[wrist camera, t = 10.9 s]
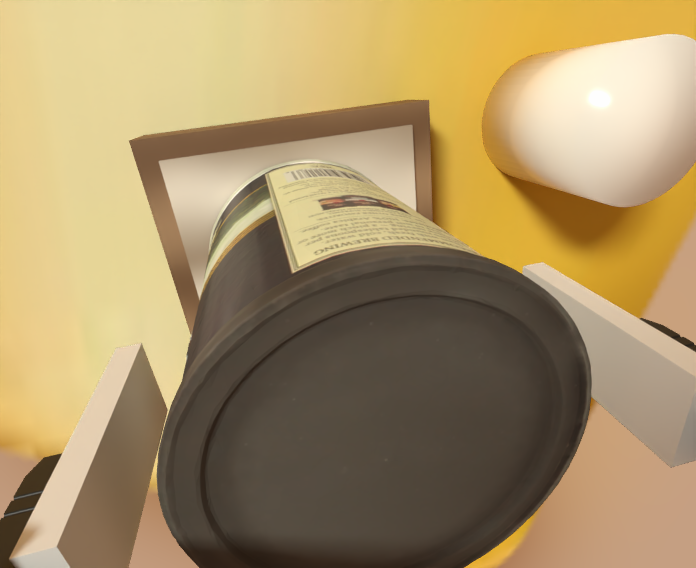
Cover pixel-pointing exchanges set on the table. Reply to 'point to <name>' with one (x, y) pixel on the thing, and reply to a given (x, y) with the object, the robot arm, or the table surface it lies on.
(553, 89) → the cream egg shape
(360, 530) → the coffee can
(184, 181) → the picture frame
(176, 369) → the table surface
